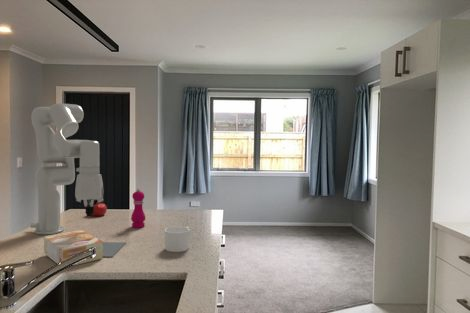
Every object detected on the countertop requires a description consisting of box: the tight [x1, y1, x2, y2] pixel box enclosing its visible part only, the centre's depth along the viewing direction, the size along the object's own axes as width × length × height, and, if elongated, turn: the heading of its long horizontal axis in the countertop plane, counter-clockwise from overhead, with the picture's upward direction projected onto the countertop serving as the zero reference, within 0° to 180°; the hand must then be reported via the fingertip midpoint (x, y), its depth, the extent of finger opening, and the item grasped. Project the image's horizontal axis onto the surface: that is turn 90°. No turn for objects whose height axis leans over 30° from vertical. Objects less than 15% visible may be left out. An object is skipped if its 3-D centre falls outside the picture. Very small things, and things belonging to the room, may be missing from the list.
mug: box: [164, 226, 191, 253], centre depth 156 cm, size 13×10×8 cm
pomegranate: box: [91, 202, 108, 217], centre depth 217 cm, size 10×10×9 cm
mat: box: [103, 241, 127, 258], centre depth 152 cm, size 20×19×1 cm
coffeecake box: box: [43, 229, 104, 267], centre depth 142 cm, size 15×7×20 cm
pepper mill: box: [130, 187, 146, 229], centre depth 192 cm, size 7×7×20 cm
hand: (89, 215), depth 151 cm, fingers closed
